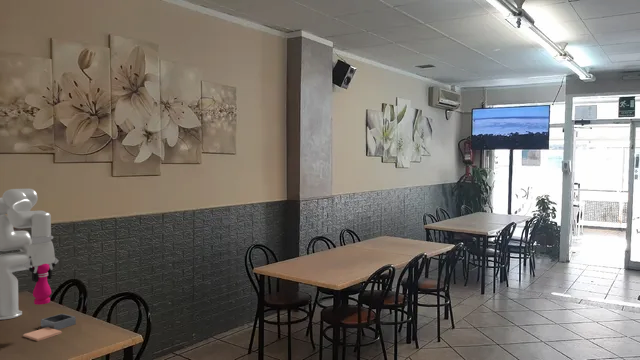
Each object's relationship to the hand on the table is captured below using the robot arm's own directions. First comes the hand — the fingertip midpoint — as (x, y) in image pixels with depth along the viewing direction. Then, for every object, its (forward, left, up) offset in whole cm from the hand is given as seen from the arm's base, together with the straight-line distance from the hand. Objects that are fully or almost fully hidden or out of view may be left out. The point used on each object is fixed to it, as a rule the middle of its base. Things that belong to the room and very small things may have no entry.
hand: (42, 279), depth 216 cm
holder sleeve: (-6, +11, -25) cm, 28 cm away
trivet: (0, 0, -25) cm, 25 cm away
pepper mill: (0, 0, -11) cm, 11 cm away
